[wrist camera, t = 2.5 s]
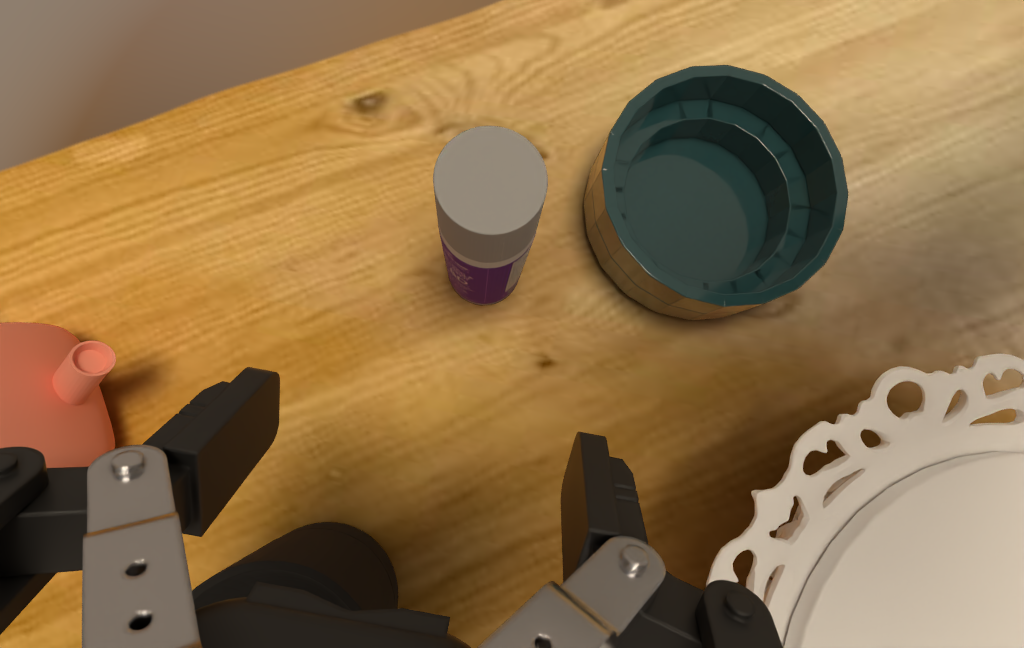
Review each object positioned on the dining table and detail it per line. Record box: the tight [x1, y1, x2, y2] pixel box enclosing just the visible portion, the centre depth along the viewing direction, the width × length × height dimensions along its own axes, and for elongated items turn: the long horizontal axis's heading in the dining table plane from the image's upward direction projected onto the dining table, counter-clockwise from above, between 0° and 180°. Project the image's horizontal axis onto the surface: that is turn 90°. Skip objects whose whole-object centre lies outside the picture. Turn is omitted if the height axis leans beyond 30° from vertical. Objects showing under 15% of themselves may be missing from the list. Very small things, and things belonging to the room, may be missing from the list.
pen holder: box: [192, 522, 398, 611], centre depth 28 cm, size 9×9×10 cm
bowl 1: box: [584, 65, 848, 320], centre depth 35 cm, size 14×14×6 cm
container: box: [433, 126, 548, 305], centre depth 29 cm, size 5×5×15 cm
